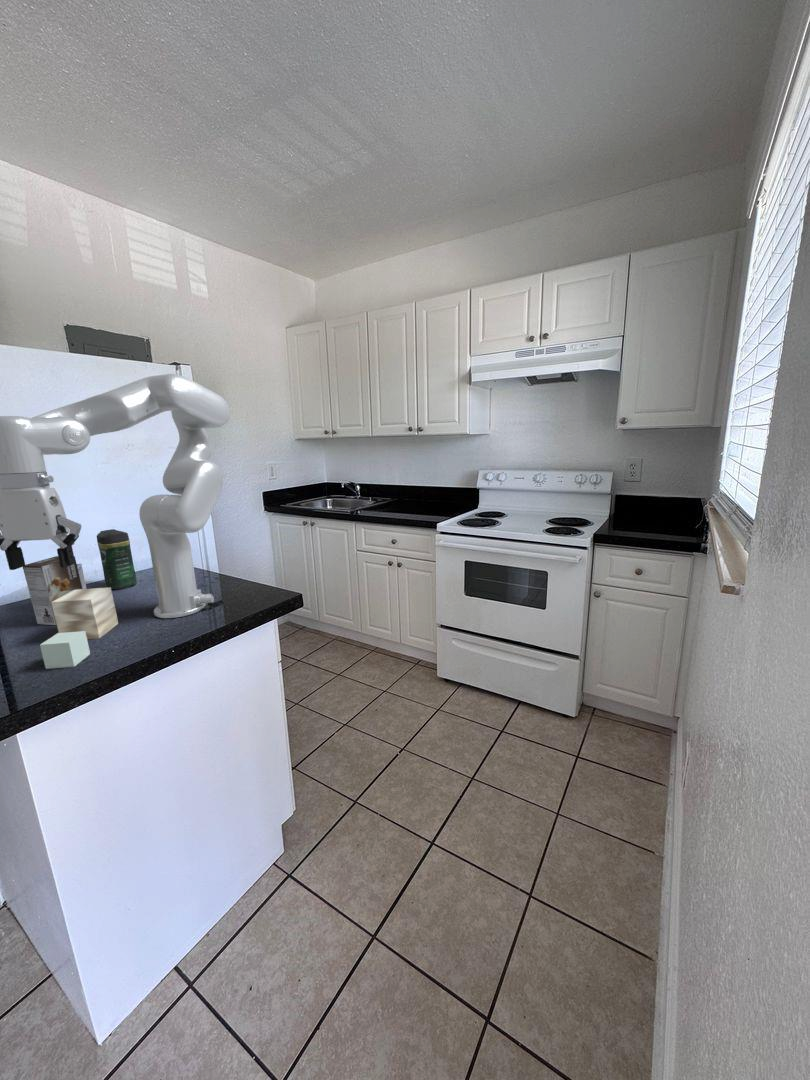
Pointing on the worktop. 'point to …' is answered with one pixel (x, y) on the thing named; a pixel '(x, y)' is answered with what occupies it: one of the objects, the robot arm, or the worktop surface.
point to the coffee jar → (116, 559)
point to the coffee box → (49, 585)
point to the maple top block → (83, 604)
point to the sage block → (65, 649)
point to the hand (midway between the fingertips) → (42, 566)
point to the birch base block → (91, 625)
